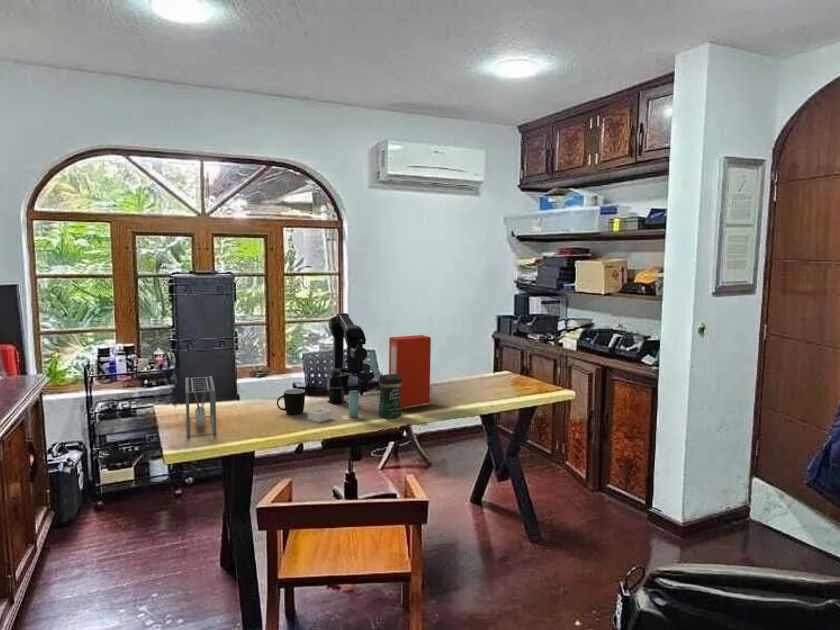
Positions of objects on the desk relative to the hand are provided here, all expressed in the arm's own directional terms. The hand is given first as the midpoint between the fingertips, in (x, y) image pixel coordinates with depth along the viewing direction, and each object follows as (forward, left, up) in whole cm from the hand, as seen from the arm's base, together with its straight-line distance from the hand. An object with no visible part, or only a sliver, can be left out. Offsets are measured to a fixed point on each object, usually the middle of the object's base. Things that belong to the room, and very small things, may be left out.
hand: (353, 393), depth 247 cm
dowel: (0, 0, -10) cm, 10 cm away
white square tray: (+11, -9, -11) cm, 18 cm away
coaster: (0, 0, -11) cm, 11 cm away
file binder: (-31, +5, -11) cm, 33 cm away
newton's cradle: (+47, -39, -11) cm, 62 cm away
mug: (+13, -25, -11) cm, 30 cm away
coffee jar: (-12, +10, -11) cm, 19 cm away
